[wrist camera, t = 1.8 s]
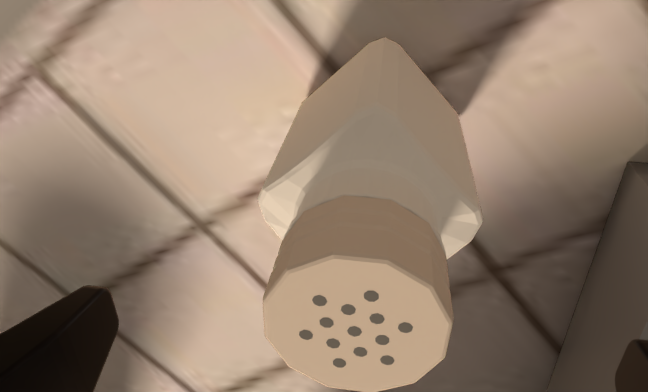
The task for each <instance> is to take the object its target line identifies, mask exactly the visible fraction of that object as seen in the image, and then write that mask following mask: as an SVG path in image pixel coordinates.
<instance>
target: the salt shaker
mask: <svg viewBox="0 0 648 392" xmlns="http://www.w3.org/2000/svg"><path fill="white" fill-rule="evenodd" d="M258 203H259V206H260V209H261V212H262V215H263V218H264V220H265V221H266V223H267V224H268V225H269V226H270V227H271V228H272V230H273V231H274V232H275V233H276V234H277V235H278V237H279V238H280V239H281V240H282V243H281V246H280V249H279V252H278V257H277V258H276V261H275V264H274V267H273V272H272V273H271V276H270V279H269V282H268V285H267V287H266V290H265V293H264V296H263V315H264V334H265V337H266V338H267V340H268V341H269V342H270V343H271V345H272V346H273V347H274V349H275V350H276V351H277V352H278V354H279V355H280V356H281V358H282V359H283V360H284V361H285V363H286V364H287V365H288V367H290V368H292V369H294V370H295V371H297V372H299V373H301V374H303V375H305V376H307V377H309V378H311V379H313V380H315V381H317V382H319V383H321V384H322V385H324V386H326V387H330V388H338V389H346V390H354V391H361V392H379V391H383V390H387V389H392V388H396V387H400V386H404V385H409V384H413V383H415V382H417V381H418V380H419V379H420V378H421V377H423V376H424V375H425V374H426V373H427V372H429V371H430V370H431V369H432V368H433V367H435V366H436V365H437V364H438V363H439V362H441V361H442V360H443V359H444V358H445V357H446V353H447V349H448V344H449V340H450V335H451V330H452V326H453V321H454V318H453V310H452V301H451V293H450V290H449V288H450V284H449V276H448V274H447V273H448V267H447V259H448V258H450V257H451V256H452V255H454V254H455V253H456V252H458V251H459V250H460V249H462V248H463V247H464V246H465V245H467V244H468V243H469V242H471V241H472V239H473V238H474V236H475V234H476V233H477V231H478V229H479V228H480V226H481V224H482V222H483V216H482V211H481V207H480V203H479V199H478V195H477V191H476V186H475V182H474V178H473V174H472V170H471V166H470V161H469V157H468V153H467V149H466V145H465V141H464V136H463V132H462V128H461V124H460V120H459V117H458V113H457V112H456V111H455V110H454V109H453V108H452V106H451V105H450V104H449V103H448V102H447V100H446V99H445V98H444V97H443V96H442V94H441V93H440V92H439V91H438V90H437V89H436V87H435V86H434V85H433V84H432V83H431V81H430V80H429V79H428V78H427V77H426V76H425V74H424V73H423V72H422V71H421V70H420V68H419V67H418V66H417V65H416V64H415V62H414V61H413V60H412V59H411V58H410V57H409V55H408V54H407V53H406V52H405V51H404V50H403V48H402V47H401V46H400V45H399V44H397V43H395V42H393V41H391V40H389V39H387V38H385V37H384V38H381V39H378V40H376V41H373V42H370V43H369V44H367V45H366V46H365V47H364V48H363V49H362V50H361V51H360V52H358V53H357V54H356V55H355V56H354V57H353V58H352V59H351V60H349V61H348V62H347V63H346V64H345V65H344V66H343V67H342V68H340V69H339V70H338V71H337V72H336V73H335V74H334V75H332V76H331V77H330V78H329V79H328V80H327V81H326V82H325V83H323V84H322V85H321V86H320V87H319V88H318V89H317V90H316V91H314V92H313V93H312V94H311V95H310V96H309V97H308V98H307V99H305V100H304V101H303V102H302V104H301V106H300V108H299V110H298V112H297V115H296V117H295V119H294V121H293V123H292V125H291V127H290V130H289V132H288V134H287V136H286V138H285V140H284V142H283V144H282V147H281V149H280V151H279V153H278V155H277V157H276V159H275V161H274V164H273V166H272V168H271V170H270V172H269V174H268V176H267V178H266V181H265V183H264V185H263V187H262V189H261V192H260V194H259V196H258Z"/></svg>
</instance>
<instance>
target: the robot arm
mask: <svg viewBox="0 0 648 392" xmlns="http://www.w3.org/2000/svg"><path fill="white" fill-rule="evenodd" d="M118 326H119V320H118V316H117V312H116V309H115V305H114V302H113V298H112V295H111V292H110V290H109V289H108V288H106V287H101V286H90V285H88V286H83V287H81V288H79V289H78V290H76V291H74V292H73V293H71V294H69V295H67V296H66V297H64V298H62V299H60V300H59V301H57V302H55V303H53V304H52V305H50V306H48V307H47V308H45V309H43V310H41V311H40V312H38V313H36V314H34V315H33V316H31V317H29V318H27V319H26V320H24V321H22V322H20V323H19V324H17V325H15V326H14V327H12V328H10V329H8V330H7V331H5V332H3V333H1V334H0V392H93V391H94V389H95V386H96V384H97V381H98V379H99V376H100V374H101V371H102V369H103V366H104V364H105V362H106V359H107V357H108V354H109V352H110V349H111V347H112V344H113V342H114V339H115V337H116V334H117V331H118ZM615 388H616V392H648V340H644V339H633V340H631V341H630V342H629V344H628V345H627V348H626V350H625V352H624V354H623V356H622V359H621V361H620V363H619V365H618V368H617V370H616V373H615Z"/></svg>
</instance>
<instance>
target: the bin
mask: <svg viewBox="0 0 648 392" xmlns="http://www.w3.org/2000/svg"><path fill="white" fill-rule="evenodd" d="M633 339H644V340H648V163H637V162H628V163H627V165H626V168H625V171H624V174H623V177H622V180H621V182H620V185H619V188H618V191H617V194H616V196H615V199H614V202H613V205H612V208H611V210H610V213H609V216H608V219H607V222H606V225H605V227H604V230H603V233H602V236H601V239H600V241H599V244H598V247H597V250H596V253H595V256H594V258H593V261H592V264H591V267H590V270H589V272H588V275H587V278H586V281H585V284H584V287H583V289H582V292H581V295H580V298H579V301H578V303H577V306H576V309H575V312H574V315H573V317H572V320H571V323H570V326H569V329H568V332H567V334H566V337H565V340H564V343H563V346H562V348H561V351H560V354H559V357H558V360H557V363H556V365H555V368H554V371H553V374H552V377H551V379H550V382H549V385H548V388H547V391H546V392H616V388H615V373H616V370H617V368H618V365H619V363H620V361H621V359H622V356H623V354H624V352H625V350H626V348H627V345H628V344H629V342H630V341H631V340H633Z"/></svg>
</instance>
